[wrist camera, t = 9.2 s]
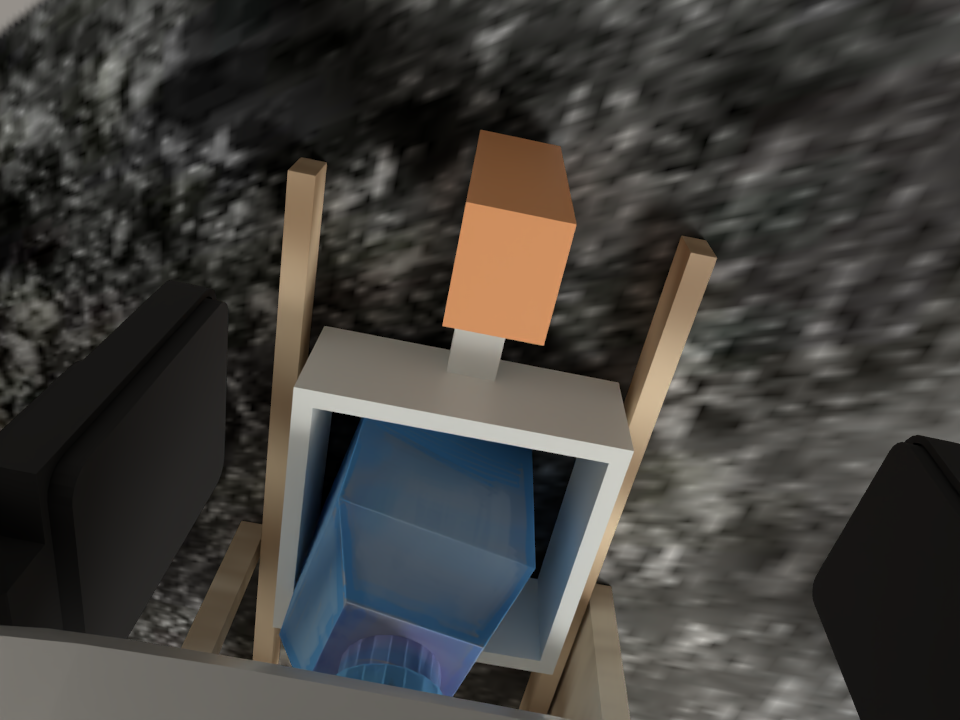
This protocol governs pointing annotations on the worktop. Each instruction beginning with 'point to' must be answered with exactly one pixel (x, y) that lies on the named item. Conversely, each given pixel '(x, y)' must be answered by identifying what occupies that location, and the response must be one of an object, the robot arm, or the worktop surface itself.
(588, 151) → the worktop surface
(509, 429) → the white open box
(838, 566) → the robot arm
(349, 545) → the perfume bottle
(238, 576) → the tunnel
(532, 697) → the track
